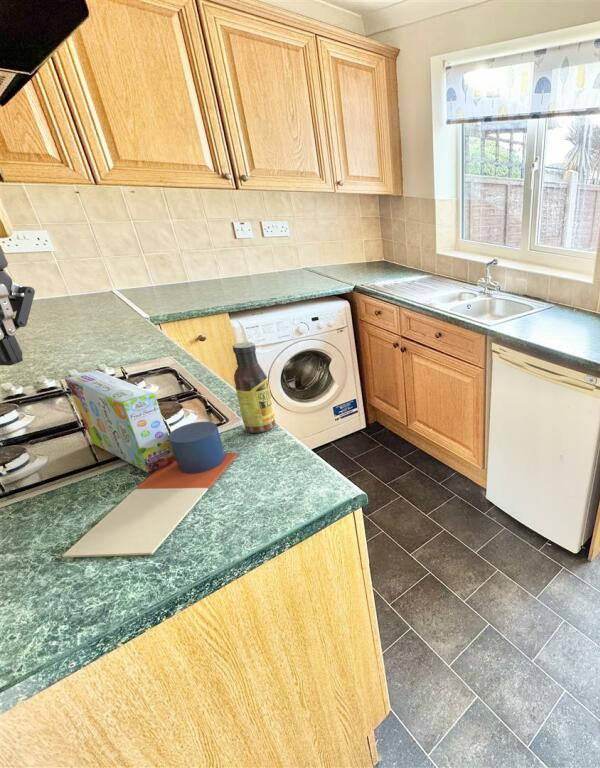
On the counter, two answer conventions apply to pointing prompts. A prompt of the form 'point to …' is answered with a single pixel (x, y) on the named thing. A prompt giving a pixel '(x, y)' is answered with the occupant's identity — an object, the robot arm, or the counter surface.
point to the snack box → (122, 419)
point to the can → (197, 447)
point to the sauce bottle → (252, 390)
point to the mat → (148, 513)
